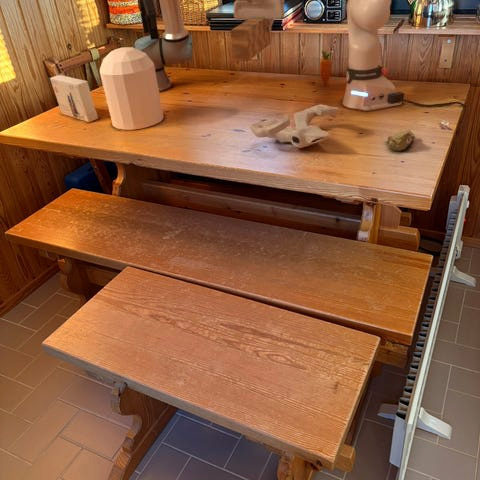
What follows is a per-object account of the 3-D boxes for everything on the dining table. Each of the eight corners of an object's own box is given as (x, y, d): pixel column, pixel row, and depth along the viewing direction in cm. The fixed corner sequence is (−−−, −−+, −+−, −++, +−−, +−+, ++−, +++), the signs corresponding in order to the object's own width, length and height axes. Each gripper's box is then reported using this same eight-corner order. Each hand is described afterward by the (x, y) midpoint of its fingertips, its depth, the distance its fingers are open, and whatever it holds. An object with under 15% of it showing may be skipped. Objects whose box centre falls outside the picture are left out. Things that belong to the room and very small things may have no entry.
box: (248, 61, 169) (246, 30, 163) (233, 61, 171) (230, 30, 165) (270, 43, 190) (269, 15, 184) (256, 43, 192) (254, 15, 186)
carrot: (331, 83, 206) (332, 48, 198) (329, 87, 202) (330, 51, 194) (320, 83, 208) (321, 48, 199) (318, 87, 204) (319, 51, 195)
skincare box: (60, 114, 202) (49, 77, 193) (71, 110, 206) (60, 74, 196) (87, 122, 190) (77, 83, 181) (98, 118, 194) (88, 80, 184)
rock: (408, 140, 153) (379, 139, 152) (414, 122, 149) (384, 120, 148) (421, 154, 144) (391, 153, 143) (428, 135, 140) (396, 133, 139)
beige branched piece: (248, 155, 150) (245, 120, 144) (261, 127, 172) (259, 95, 165) (336, 156, 144) (338, 119, 138) (338, 126, 166) (340, 93, 159)
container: (119, 134, 177) (100, 57, 161) (107, 118, 193) (89, 47, 177) (170, 121, 183) (157, 47, 167) (155, 107, 199) (142, 38, 184)
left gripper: (157, -37, 136) (169, 40, 148) (143, -40, 156) (155, 28, 168) (132, -34, 135) (146, 43, 147) (121, -37, 154) (135, 31, 167)
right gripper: (286, -10, 176) (287, 29, 184) (236, -8, 183) (239, 30, 191) (281, -7, 171) (282, 33, 179) (230, -5, 178) (233, 33, 186)
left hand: (151, 35), depth 158 cm, fingers open, 13 cm apart
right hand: (259, 31), depth 185 cm, fingers closed on box, 6 cm apart
